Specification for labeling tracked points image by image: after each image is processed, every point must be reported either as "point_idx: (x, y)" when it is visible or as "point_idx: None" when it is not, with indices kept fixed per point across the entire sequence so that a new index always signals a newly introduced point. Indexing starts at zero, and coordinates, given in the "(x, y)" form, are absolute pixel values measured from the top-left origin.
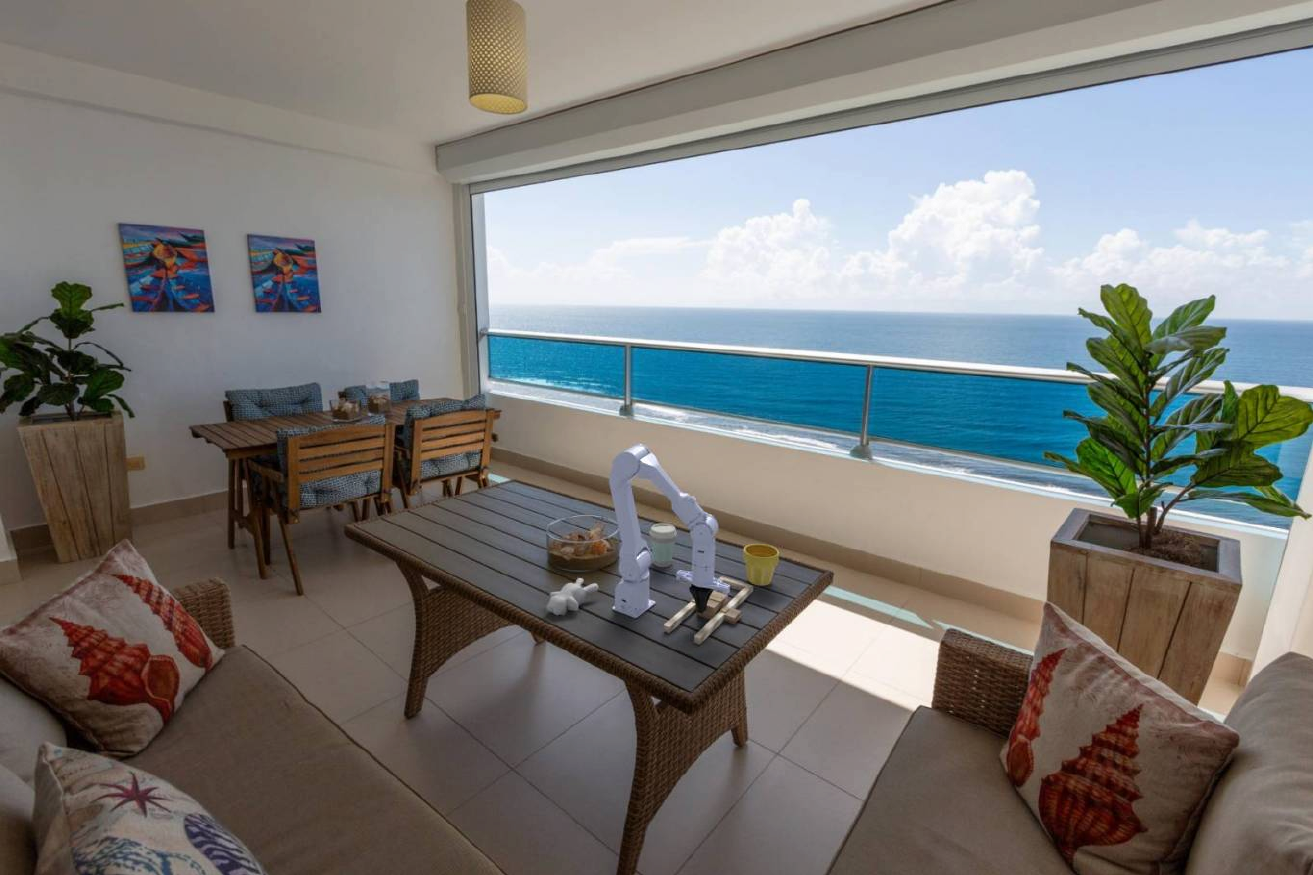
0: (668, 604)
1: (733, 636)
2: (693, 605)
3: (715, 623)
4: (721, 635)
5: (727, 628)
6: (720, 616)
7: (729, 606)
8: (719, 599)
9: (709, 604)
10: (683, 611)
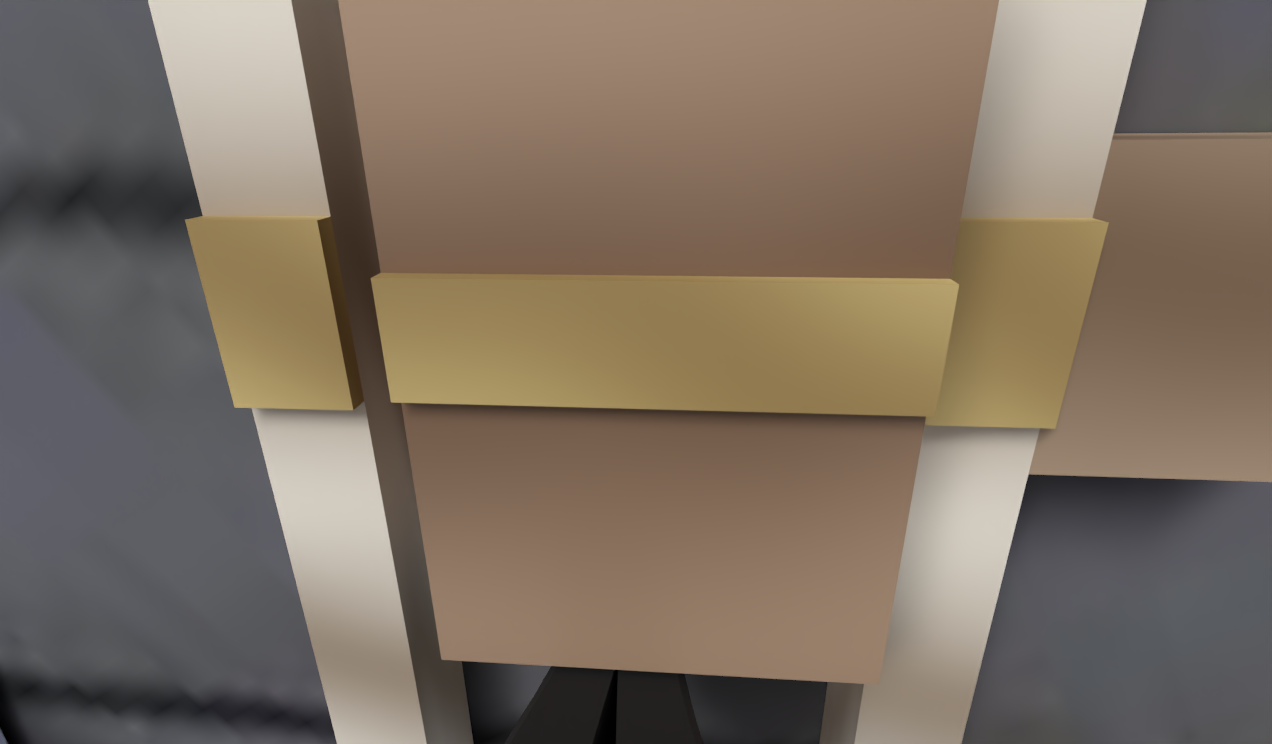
0: (27, 454)
1: (1221, 676)
2: (374, 500)
3: (955, 734)
4: (1047, 721)
5: (1088, 560)
6: (981, 565)
7: (1062, 99)
8: (873, 317)
9: (720, 618)
10: (375, 710)
